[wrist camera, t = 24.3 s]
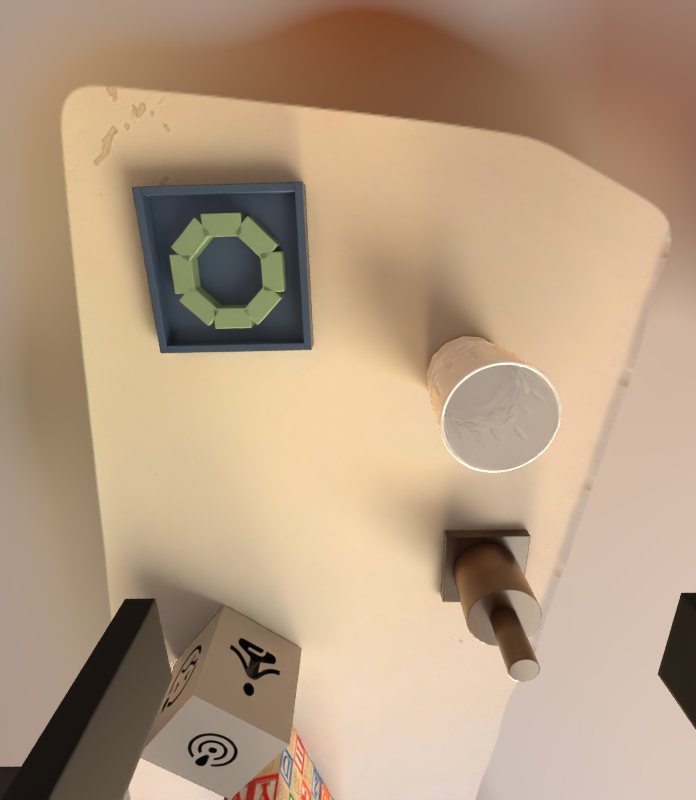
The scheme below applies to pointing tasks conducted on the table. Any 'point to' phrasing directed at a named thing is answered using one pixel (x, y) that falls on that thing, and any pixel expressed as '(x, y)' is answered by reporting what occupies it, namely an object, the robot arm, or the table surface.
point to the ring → (189, 279)
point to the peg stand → (494, 592)
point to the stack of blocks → (286, 778)
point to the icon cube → (226, 705)
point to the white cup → (491, 405)
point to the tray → (227, 265)
